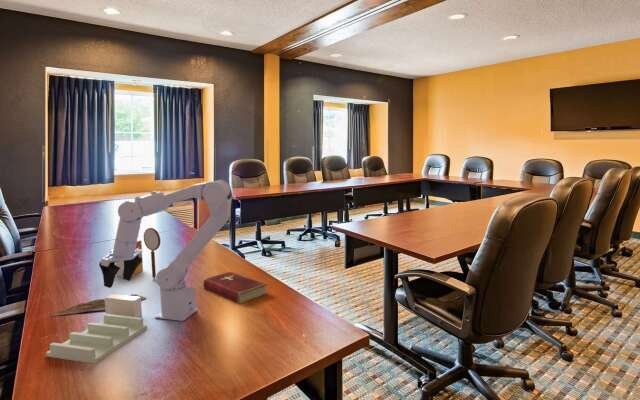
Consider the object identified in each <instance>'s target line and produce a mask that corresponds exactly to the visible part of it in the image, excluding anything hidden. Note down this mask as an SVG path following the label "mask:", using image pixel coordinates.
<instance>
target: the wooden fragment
mask: <svg viewBox="0 0 640 400" xmlns="http://www.w3.org/2000/svg"><path fill="white" fill-rule="evenodd" d="M128 296H138V297H141V300H143V299H144V300H145V299H147V298H146V297H145V296H142V295H139V294H129V295H128ZM98 311H106V310H105V298H100V299H95V300H91V301H88V302H82V303H81V302H80V303H79V304H75V305H73V306H71V307H69V308H65V310H62V311H58V312H56V313H55V314H53V315H52V317H54V316H55V317H56V316H62V315H71V314H74V315H75V314H79V313H86V312H98Z"/></svg>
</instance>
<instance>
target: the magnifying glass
mask: <svg viewBox="0 0 640 400" xmlns="http://www.w3.org/2000/svg"><path fill="white" fill-rule="evenodd" d="M143 242H144V245H145V246H146V248H147V249H148V250H150V251H151V252H150V256H151V257H150V258H151V274H152V275H151V277H152V279H153V280H156V276H157V274H156V273H157V272H156V257H155V255H156V254H155V251H157V250H158V249H159V248H160V245H161V236H160V233H159V232H158V231H157V230H156V229H155V228H153V227H149V228H147V229H145V231H144V233H143Z"/></svg>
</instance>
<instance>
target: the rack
mask: <svg viewBox="0 0 640 400" xmlns="http://www.w3.org/2000/svg"><path fill="white" fill-rule="evenodd" d="M147 329H148V324H146V323H145V324H144V317H130V316H121V315H113V314H106V313H105V314H103V320H101V321H100V322H88V323H87V329H85V330H84V331H81V332H78V331H77V332H76V331H72V332H70V333H69V339H67V340H66V341H63V342H62V343H60V342H51V343H50V344H49V350H47V351H46V352H45V356H46V357H47V358H48V357H49V358H55V359H61V360H67V361H74V362H75V361H76V362H82V363H88V364H97V363H99V362H101V360H102V359H104V358H106V357H107V356H109V355H110V354H112V353H113V352H114V351H116V350H117V349H120V348H121V347H122V346H123V345H125V344H126V343H128V342H130V340H132V339H134V338H135V337H136V336H138V335H139V334H141V333H143V332H144V331H145V330H147Z"/></svg>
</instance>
